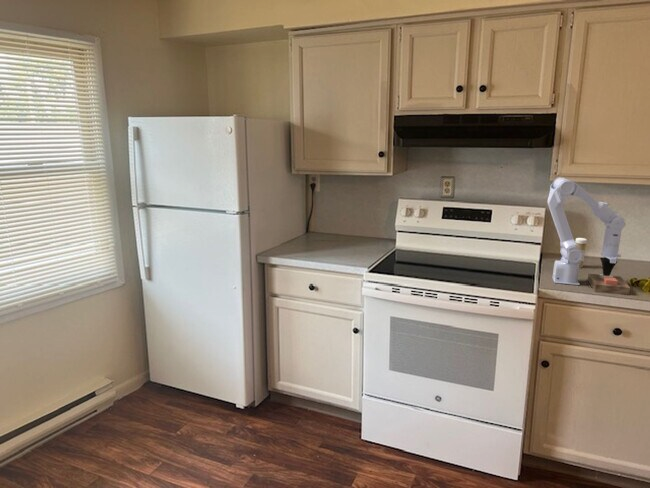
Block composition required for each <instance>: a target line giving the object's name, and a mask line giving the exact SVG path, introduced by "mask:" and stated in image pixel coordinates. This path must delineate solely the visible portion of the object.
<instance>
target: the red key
mask: <svg viewBox="0 0 650 488" xmlns="http://www.w3.org/2000/svg"><path fill="white" fill-rule="evenodd" d="M603 282H604V283H605V284H613V285H617V283H618V281H617V280H616V278H608V277H604V281H603Z"/></svg>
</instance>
